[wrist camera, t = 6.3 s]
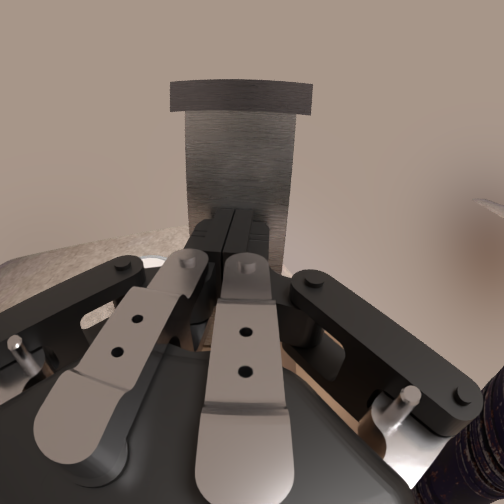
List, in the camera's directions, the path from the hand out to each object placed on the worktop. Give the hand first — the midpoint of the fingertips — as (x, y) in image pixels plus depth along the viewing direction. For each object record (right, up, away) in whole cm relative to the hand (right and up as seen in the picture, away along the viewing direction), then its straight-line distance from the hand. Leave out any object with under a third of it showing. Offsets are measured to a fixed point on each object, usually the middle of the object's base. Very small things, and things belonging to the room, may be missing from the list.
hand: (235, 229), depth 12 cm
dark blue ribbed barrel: (+18, -23, +3) cm, 29 cm away
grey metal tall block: (0, -6, +5) cm, 8 cm away
